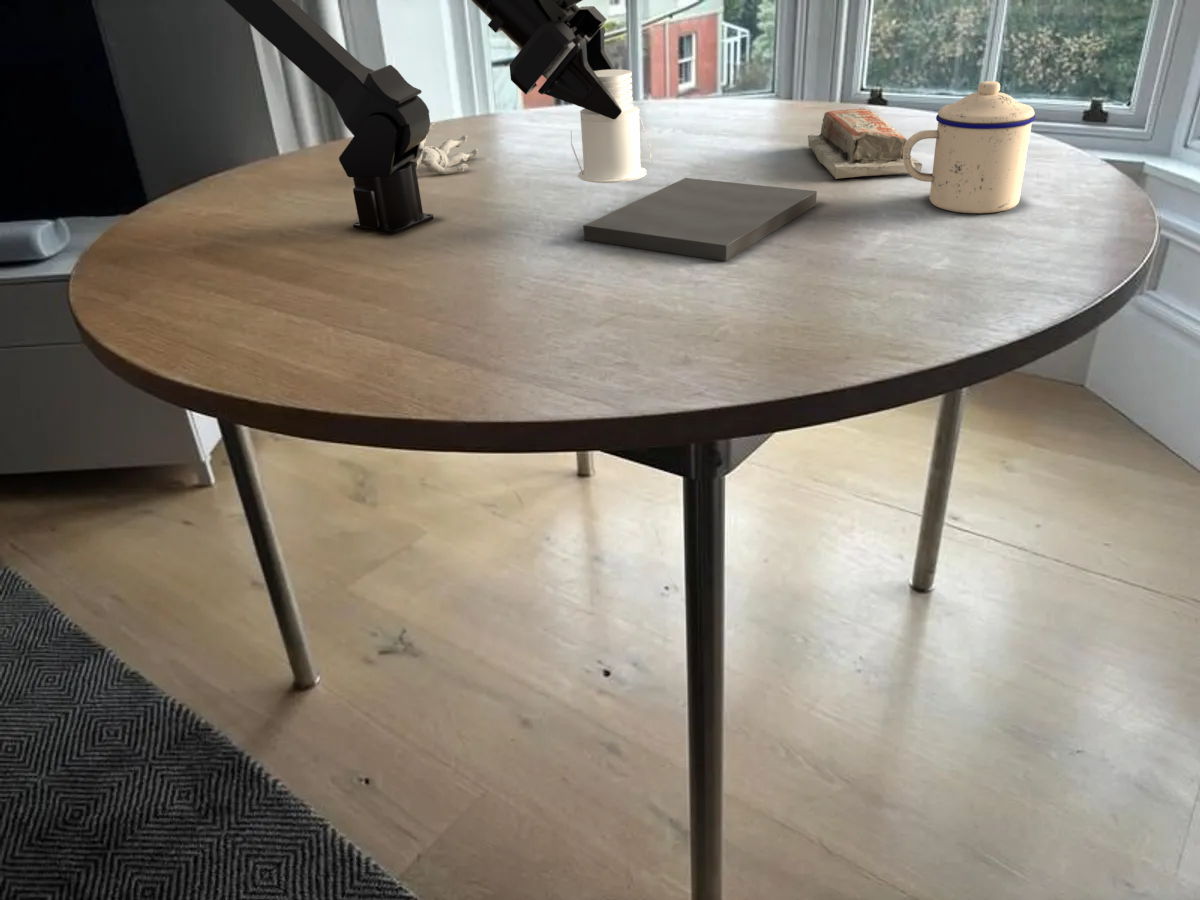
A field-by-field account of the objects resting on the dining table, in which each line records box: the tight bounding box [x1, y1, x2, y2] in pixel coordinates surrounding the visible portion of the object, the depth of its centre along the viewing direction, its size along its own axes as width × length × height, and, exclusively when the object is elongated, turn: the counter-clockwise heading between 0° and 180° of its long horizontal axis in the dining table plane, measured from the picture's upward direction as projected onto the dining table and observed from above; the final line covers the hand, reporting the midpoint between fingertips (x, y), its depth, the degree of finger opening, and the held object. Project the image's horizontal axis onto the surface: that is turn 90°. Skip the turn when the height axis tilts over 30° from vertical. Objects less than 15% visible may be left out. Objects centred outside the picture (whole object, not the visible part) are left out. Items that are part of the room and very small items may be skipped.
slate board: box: [582, 177, 818, 262], centre depth 95 cm, size 20×16×2 cm
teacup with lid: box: [903, 80, 1036, 214], centre depth 93 cm, size 12×9×12 cm
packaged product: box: [807, 108, 923, 180], centre depth 113 cm, size 18×5×10 cm
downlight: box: [570, 68, 652, 184], centre depth 93 cm, size 8×7×10 cm
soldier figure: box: [411, 122, 479, 175], centre depth 123 cm, size 8×5×12 cm
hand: (624, 109), depth 91 cm, fingers closed on downlight, 6 cm apart
